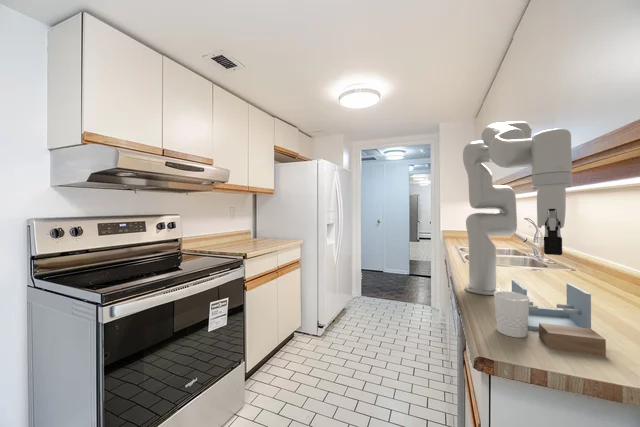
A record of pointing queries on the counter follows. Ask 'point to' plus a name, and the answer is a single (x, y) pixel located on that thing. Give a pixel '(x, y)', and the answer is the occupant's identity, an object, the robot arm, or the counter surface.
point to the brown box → (572, 339)
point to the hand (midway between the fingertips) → (552, 252)
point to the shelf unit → (571, 315)
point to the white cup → (511, 313)
